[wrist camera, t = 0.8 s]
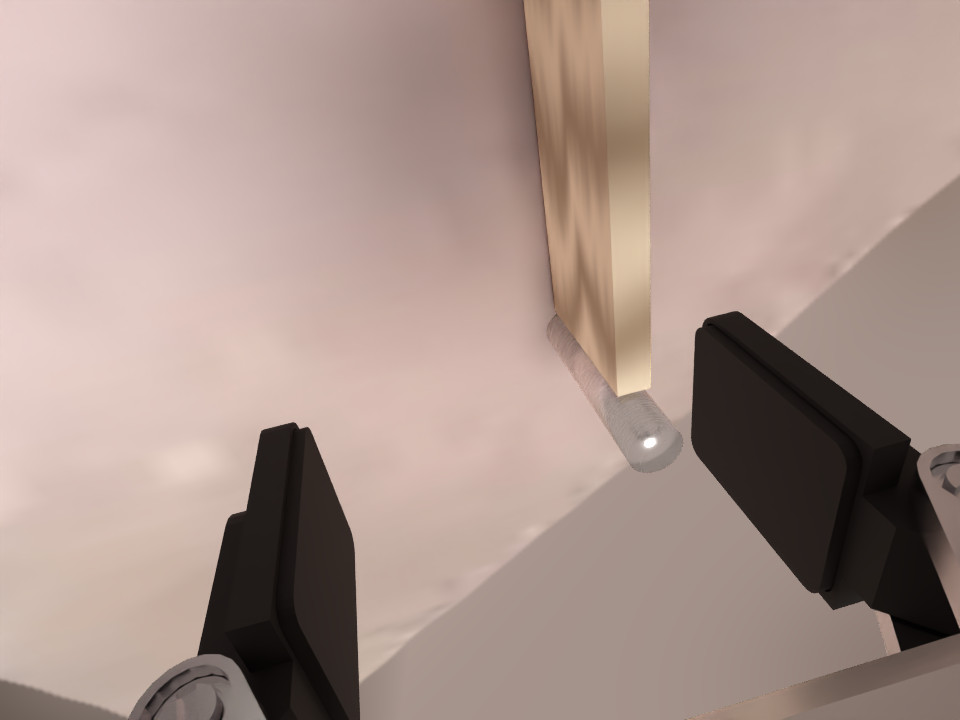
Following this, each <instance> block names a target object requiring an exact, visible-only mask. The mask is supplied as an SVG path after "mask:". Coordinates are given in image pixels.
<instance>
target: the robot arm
mask: <svg viewBox="0 0 960 720" xmlns="http://www.w3.org/2000/svg"><path fill="white" fill-rule="evenodd" d="M691 439H692V440H691V441H692V445H693V448H694V450H695V452H696V454H697V456H698V457H699V458H700V460H701V461H702V462H703V463H704V464H705V466H706V467H707V468H708V469H709V471H710V472H711V473H712V474H713V475H714V477H715V478H716V479H717V480H718V482H719V483H720V484H721V485H722V486H723V488H724V489H725V490H726V491H727V493H728V494H729V495H730V496H731V498H732V499H733V500H734V501H735V502H736V504H737V505H738V506H739V507H740V508H741V510H742V511H743V512H744V513H745V515H746V516H747V517H748V518H749V520H750V521H751V522H752V523H753V524H754V526H755V527H756V528H757V529H758V531H759V532H760V533H761V534H762V536H763V537H764V538H765V539H766V540H767V542H768V543H769V544H770V545H771V547H772V548H773V549H774V550H775V551H776V553H777V554H778V555H779V556H780V558H781V559H782V560H783V561H784V562H785V564H786V565H787V566H788V567H789V569H790V570H791V571H792V572H793V574H794V575H795V576H796V577H797V578H798V580H799V581H800V582H801V583H802V585H803V586H804V587H805V588H806V589H807V590H808V591H810V592H811V593H819V594H820V595H821V596H822V597H823V599H824V600H825V601H826V602H827V603H828V604H829V606H830V607H831V608H832V609H833V610H835V609H838V608H842V607H845V606H848V605H851V604H855V603H858V602H861V601H863V600H864V601H865V602H866V603H867V604H868V606H869V607H870V608H871V609H874V610H875V613H876V617H877V620H878V624H879V627H880V630H881V634H882V638H883V641H884V644H885V648H886V652H887V655H888V656H886V657H883V658H879V659H876V660H873V661H870V662H867V663H864V664H860V665H857V666H854V667H851V668H847V669H844V670H842V671H838V672H835V673H832V674H828V675H825V676H822V677H819V678H815V679H812V680H809V681H806V682H803V683H799V684H796V685H793V686H790V687H787V688H784V689H781V690H777V691H774V692H771V693H768V694H765V695H762V696H758V697H755V698H752V699H749V700H746V701H743V702H739V703H736V704H734V705H730V706H727V707H724V708H721V709H717V710H715V711H711V712H708V713H705V714H702V715H699V716H695V717H693V718H689V719H686V720H960V444H945V445H940V446H936V447H932V448H929V449H928V450H927V451H925V452H924V453H922V454H921V453H919V452H918V451H917V450H915V449H914V448H913V447H911V446H910V442H911V438H909V437H908V436H907V435H905V434H904V433H903V432H901V431H900V430H898V429H897V428H896V427H894V426H893V425H892V424H890V423H889V422H888V421H886V420H885V419H884V418H882V417H881V416H880V415H878V414H877V413H876V412H874V411H873V410H871V409H870V408H869V407H867V406H866V405H865V404H863V403H862V402H861V401H859V400H858V399H857V398H855V397H854V396H852V395H851V394H850V393H848V392H847V391H846V390H844V389H843V388H842V387H840V386H839V385H838V384H836V383H835V382H834V381H832V380H830V378H828V377H827V376H826V375H824V374H823V373H821V372H820V371H818V370H817V369H816V368H815V367H813V366H812V365H810V364H809V363H808V362H806V361H805V360H804V359H803V358H801V357H800V356H798V355H797V354H796V353H794V352H793V351H792V350H790V349H789V348H788V347H786V346H785V345H783V344H782V343H781V342H780V341H778V340H777V339H776V338H774V337H773V336H771V335H770V334H769V333H767V332H766V331H765V330H763V329H762V328H761V327H759V326H758V325H757V324H755V323H754V322H753V321H751V320H750V319H749V318H747V317H746V316H744V315H743V314H742V313H740V312H738V311H734V312H730V313H726V314H722V315H718V316H714V317H710V318H707V319H706V320H705V321H704V323H703V326H702V327H701V328H699V329H697V331H696V334H695V353H694V378H693V403H692V428H691ZM359 706H360V705H359V673H358V642H357V611H356V580H355V550H354V542H353V537H352V533H351V530H350V527H349V525H348V522H347V520H346V517H345V515H344V512H343V510H342V507H341V505H340V502H339V500H338V497H337V495H336V492H335V490H334V487H333V485H332V482H331V480H330V477H329V475H328V472H327V470H326V467H325V465H324V462H323V460H322V457H321V455H320V452H319V450H318V447H317V445H316V442H315V440H314V437H313V435H312V433H311V430H310V429H309V428H308V427H306V428H302V429H299V428H298V426H297V424H296V423H294V422H292V423H288V424H284V425H280V426H276V427H272V428H268V429H264V430H262V431H261V434H260V439H259V444H258V450H257V455H256V461H255V466H254V472H253V477H252V482H251V488H250V493H249V499H248V504H247V510H246V511H244V512H240V513H236V514H233V515H231V516H230V517H229V518H228V521H227V524H226V527H225V531H224V536H223V541H222V545H221V550H220V554H219V559H218V563H217V568H216V573H215V577H214V582H213V586H212V591H211V596H210V600H209V605H208V609H207V614H206V618H205V623H204V628H203V632H202V637H201V641H200V646H199V651H198V655H197V657H193V658H190V659H187V660H185V661H183V662H181V663H180V664H178V665H176V666H174V667H172V668H171V669H169V670H168V671H167V672H165V673H164V674H163V675H162V676H160V677H159V678H158V679H157V680H156V681H154V682H153V683H152V684H151V686H150V687H149V688H148V689H147V690H146V691H145V693H144V694H143V695H142V696H141V697H140V699H139V700H138V701H137V703H136V705H135V707H134V709H133V710H132V712H131V714H130V716H129V718H128V720H360V707H359Z"/></svg>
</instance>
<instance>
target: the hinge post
mask: <svg viewBox="0 0 960 720" xmlns="http://www.w3.org/2000/svg"><path fill="white" fill-rule="evenodd" d="M547 334H548V338H549V340H550V342H551V344H552V345H553V347H554V348H555V350H556V351H557V353H558V354H559V356H560V357H561V359H562V360H563V362H564V364H565V365H566V367H567V368H568V370H569V371H570V373H571V374H572V376H573V377H574V379H575V380H576V382H577V384H578V385H579V387H580V388H581V390H582V391H583V393H584V394H585V396H586V397H587V399H588V401H589V402H590V404H591V405H592V407H593V408H594V410H595V411H596V413H597V414H598V416H599V417H600V419H601V421H602V422H603V424H604V425H605V427H606V428H607V430H608V431H609V433H610V434H611V436H612V437H613V439H614V441H615V442H616V444H617V445H618V447H619V448H620V450H621V451H622V453H623V454H624V456H625V457H626V459H627V461H628V462H629V464H630V465H631V466H632V468H634V469H635V470H637V471H639V472H643V473H651V472H656V471H658V470H661V469H663V468H665V467H667V466H668V465H670V464H671V463H672V462H673V461H674V460H675V459H676V458H677V457H678V455H679V454H680V452H681V450H682V446H683V439H682V435H681V434H680V432H679V431H678V430H677V429H676V427H675V426H674V425H673V424H672V423H671V421H670V420H669V419H668V418H667V416H666V415H665V414H664V413H663V412H662V410H661V409H660V408H659V407H658V405H657V404H656V403H655V402H654V400H653V399H652V398H651V397H650V396H649V394H648V393H647V392H646V391H645V390H642V391H638V392H634V393H630V394H626V395H622V396H617V395H616V394H615V392H614V391H613V390H612V388H611V387H610V386H609V384H608V383H607V381H606V380H605V379H604V377H603V376H602V375H601V373H600V372H599V371H598V369H597V368H596V366H595V365H594V364H593V362H592V361H591V360H590V358H589V357H588V356H587V354H586V353H585V351H584V350H583V349H582V347H581V346H580V345H579V343H578V342H577V340H576V339H575V338H574V336H573V335H572V334H571V332H570V331H569V330H568V328H567V327H566V325H565V324H564V323H563V321H562V320H561V319H560V317H559V316H558V315H557V316H555V317H554V318H553V319H552V321H551V322H550V324H549V326H548V331H547Z"/></svg>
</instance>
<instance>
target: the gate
mask: <svg viewBox="0 0 960 720" xmlns="http://www.w3.org/2000/svg"><path fill="white" fill-rule="evenodd" d="M524 10H525V20H526V30H527V39H528V49H529V59H530V69H531V79H532V88H533V98H534V108H535V118H536V127H537V137H538V147H539V157H540V167H541V176H542V186H543V196H544V206H545V216H546V225H547V235H548V245H549V255H550V265H551V274H552V284H553V294H554V304H555V312H556V313H557V315H558V316H559V317H560V319H561V320H562V321H563V323H564V324H565V325H566V327H567V328H568V330H569V331H570V332H571V334H572V335H573V336H574V338H575V339H576V340H577V342H578V343H579V345H580V346H581V347H582V349H583V350H584V351H585V353H586V354H587V356H588V357H589V358H590V360H591V361H592V362H593V364H594V365H595V366H596V368H597V369H598V371H599V372H600V373H601V375H602V376H603V377H604V379H605V380H606V381H607V383H608V384H609V386H610V387H611V388H612V390H613V391H614V392H615V394H616V395H617V396H622V395H626V394H630V393H634V392H638V391H642V390H645V389H649V388H651V321H650V139H649V0H524Z"/></svg>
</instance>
